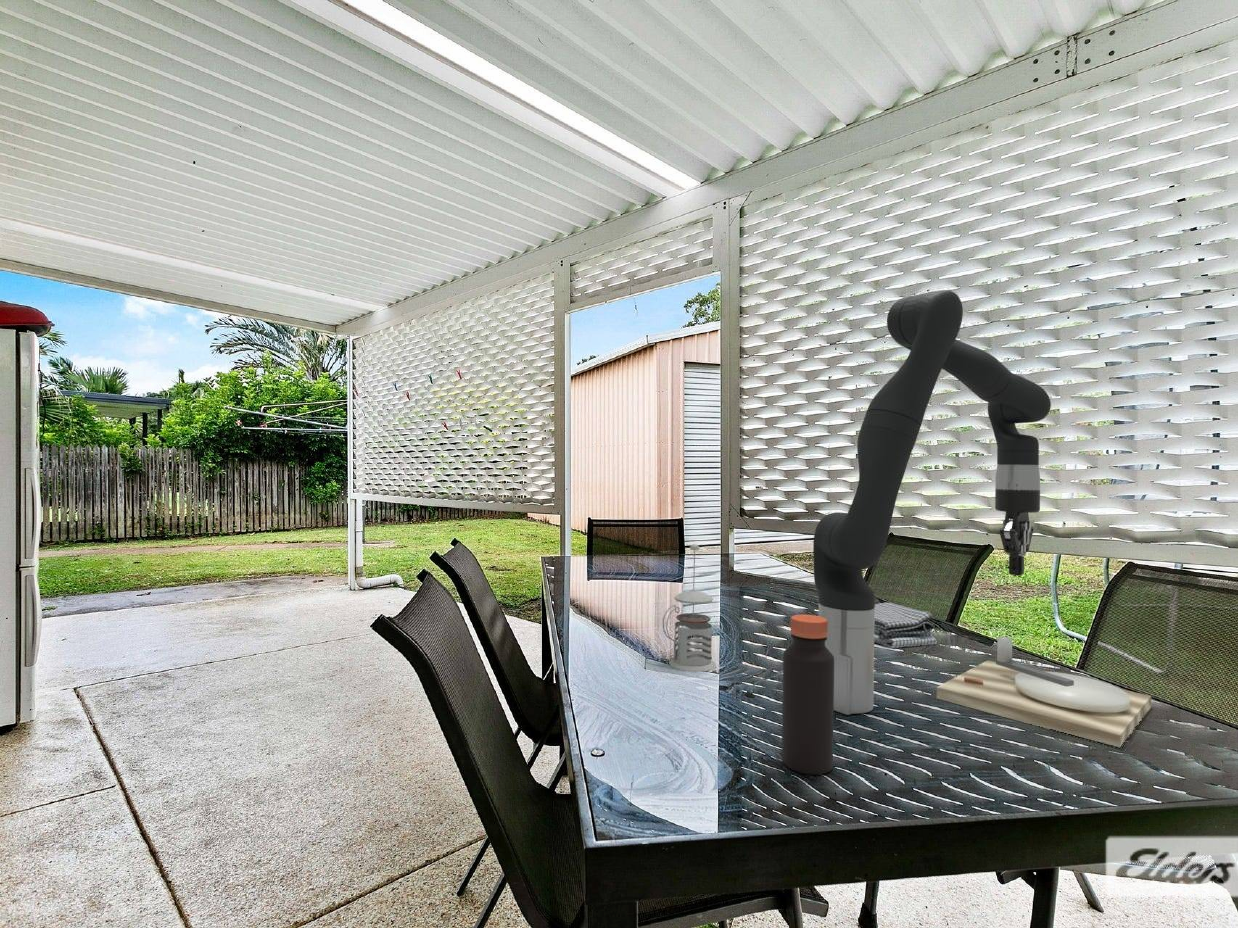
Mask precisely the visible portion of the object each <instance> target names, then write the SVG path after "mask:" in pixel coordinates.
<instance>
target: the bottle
mask: <svg viewBox="0 0 1238 928" xmlns="http://www.w3.org/2000/svg"><path fill="white" fill-rule="evenodd" d="M827 631H828V620H827V619H825V618H823V617H820V616H819V615H815V614H814V615H813V614H795V615H792V616H791V617H790V638H792V643H791V644H790V645H789V646H787V647H786V648H785V650H784V651H783V653H782V654H783V655H782V657H783V658H782V701H781V702H782V710H781V713H782V714H781V715H782V717H781V720H782V721H781V761H782V762H783V764H784V765H785V766H786V767H787V768H789V769H790V770H792V771H794V772H798V773H800V774H804V775H812V776H813V775H814V776H815V775H816V776H818V775H819V776H820V775H824V774H827V773H829V772H831V770H832V769H833V767H834V656H833V655H832V653H831V652H830V651H829V650H828V649H827V648H826V647H825V641H826V640H827Z"/></svg>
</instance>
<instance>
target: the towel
mask: <svg viewBox="0 0 1238 928" xmlns="http://www.w3.org/2000/svg"><path fill="white" fill-rule="evenodd" d="M932 618H933V615H932V613H931V612H930V611H924V610H920V609H915V608H911V607H908V606H905V605H900V604H897V603H893V602H882V603H880V602H879V603H875V625H874V643H876V644H880V645H882V646H884V647H887V648H889V649H897V648H907V647H918V646H920V645H922V646H928V645H936V644H938V641H937V639H936V638H935V637H934V636H933V634H934V633H933V631H932V630H934V628H935V625H934V624H933V623H931V622H930V621H928V620H931V619H932Z"/></svg>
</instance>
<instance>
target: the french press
mask: <svg viewBox="0 0 1238 928" xmlns="http://www.w3.org/2000/svg"><path fill="white" fill-rule="evenodd" d="M689 550H691V551H693V576H695V567H696V566H695V564H696V563H695V562H696V560H695V559H696V551H699V550H700V545H698V544H696V543H693V544H691V545H690V546H689ZM692 581H693V584H692V585H693V589H691V590H684V591H682V592H680V593H678V594H676V595H675V596H674V600H675V602H677V603H682V604H690V605H692V613H691V612H690V613H689V612H688V613H687V612H686V613H680V610H681V609H680V607H679V606H676V605H675V604H673V605H670V606H669V607H668V608H667V610H665V613H664V614H663V618H662V629H663V631H662V632H663V634H664V635H665V637H666V638H667V639H669V640H671V641H672V642H673V657H672V659H670V661H669V662H668V663H669V665H670V666H671V667H672V668H674V669H676V670H681V671H684V672H695V673H696V672H707V671H712V670H714V669H715V668H716V667H717V664H716V662H715V661H713V660H712V639H713V637H712V636H713V635H712V631H713V630H712V629H713V624H711V623H709V622H710V621H711V616H709V615H706V614H700V613H695V610H694V609H695V605H702V604H703V605H704V604H710V603H712V602H713V600H714V598H713V597H712V596H710V595H709V594H707V593H706V592H703V591H701V590H696V589H695V578H693V580H692ZM673 607H674V608H673ZM671 608H673V609H672V610H671V611H669V610H670V609H671ZM677 609H678V611H677ZM674 611H675V613H676V614H677V615H676V617H675V619H677V621H676V622H674V636H673V637H674V639H673V637H671V636H670V633H669V629H668V623H669V619H670V616H671V614H672V613H673V612H674ZM668 612H669V614H668V616H667V619H666V615H667V613H668ZM665 619H666V623H665ZM665 624H666V625H665ZM685 627H686V628H685ZM691 636H692V638H691ZM691 643H693V644H691ZM692 649H694V650H692Z"/></svg>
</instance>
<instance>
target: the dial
mask: <svg viewBox="0 0 1238 928" xmlns="http://www.w3.org/2000/svg"><path fill="white" fill-rule="evenodd" d="M996 641H997V642H996V643H997V645H996V646H997V647H996V648H997V650H996V651H997V653H996V655H997V656H996V658H997V659H995V662H996V664H997V665H1000V666H1003V667H1007V668H1010V669H1013V670H1016V671H1019V672H1021V673H1018V674H1017V675H1016V676H1015V686H1016V688H1017V689H1018V690H1019V691H1020V692H1022V693H1024V694H1026V695H1028V696H1030V697H1032V698H1035V699H1037V700H1040V701H1043V702H1047V703H1050V704H1054V705H1058V706H1062V707H1066V708H1071V709H1077V710H1083V711H1091V712H1106V713H1112V712H1122V711H1126V710H1128V709H1129V708H1130V696H1129V694H1128V693H1126V692H1125V691H1123V690H1124V689H1122V688H1120V687H1118V686H1115V685H1113V684H1110V683H1107V682H1104V681H1101V680H1097V679H1094V678H1090V677H1086V676H1082V675H1081V676H1080V675H1077V674H1076V675H1075V674H1072V673H1071V674H1070V673H1064V672H1059V671H1058V672H1057V671H1047V670H1046V671H1045V670H1041V669H1037V668H1034V667H1031V666H1028V665H1024V664H1021V663H1017V662H1014V661H1013V637H1009V636H1002V635H1000V636H999V635H998V636H997V639H996Z"/></svg>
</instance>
